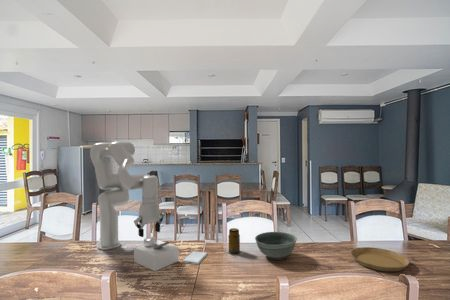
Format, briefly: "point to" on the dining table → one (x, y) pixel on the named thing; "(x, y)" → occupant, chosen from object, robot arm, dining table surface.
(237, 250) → the condiment
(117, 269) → the dining table surface
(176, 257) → the block
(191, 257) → the hard drive
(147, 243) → the pin
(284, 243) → the bowl
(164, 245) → the latch bar
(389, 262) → the plant saucer
